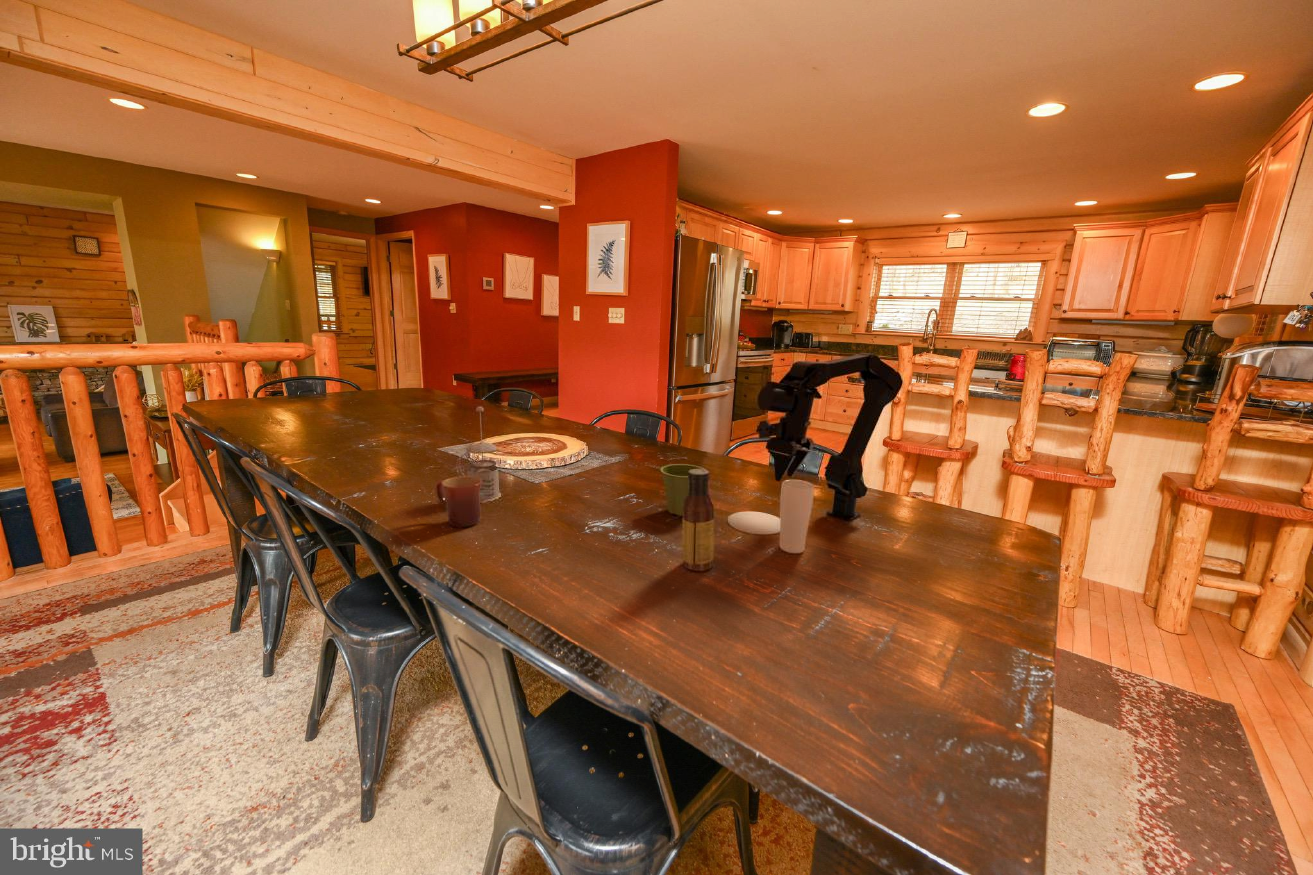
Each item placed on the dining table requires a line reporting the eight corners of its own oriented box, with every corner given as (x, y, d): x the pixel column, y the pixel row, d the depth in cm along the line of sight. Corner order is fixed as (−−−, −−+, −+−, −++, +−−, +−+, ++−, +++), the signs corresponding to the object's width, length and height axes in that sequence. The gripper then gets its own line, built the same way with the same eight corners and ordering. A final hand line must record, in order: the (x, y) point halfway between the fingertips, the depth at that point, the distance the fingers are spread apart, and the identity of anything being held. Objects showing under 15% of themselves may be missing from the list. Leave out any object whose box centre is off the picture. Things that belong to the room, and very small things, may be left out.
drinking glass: (804, 543, 113) (811, 480, 109) (810, 557, 106) (817, 490, 103) (773, 541, 113) (779, 478, 110) (778, 554, 107) (784, 488, 103)
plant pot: (714, 514, 128) (716, 472, 126) (677, 523, 122) (678, 479, 119) (686, 500, 138) (687, 461, 135) (650, 508, 131) (651, 467, 129)
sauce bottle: (715, 561, 103) (721, 469, 98) (708, 575, 97) (714, 477, 92) (685, 556, 105) (689, 465, 100) (676, 569, 99) (680, 473, 94)
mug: (491, 519, 120) (490, 479, 118) (465, 533, 112) (463, 489, 110) (453, 511, 125) (450, 472, 122) (425, 523, 117) (422, 482, 115)
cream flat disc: (750, 508, 133) (750, 507, 133) (796, 524, 123) (796, 523, 123) (716, 521, 124) (716, 519, 124) (762, 539, 114) (762, 538, 114)
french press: (496, 504, 130) (492, 410, 125) (452, 503, 130) (446, 408, 125) (507, 492, 140) (504, 404, 134) (466, 490, 140) (461, 402, 134)
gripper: (777, 408, 129) (765, 466, 132) (751, 408, 114) (738, 474, 116) (820, 417, 124) (806, 477, 126) (799, 418, 108) (784, 487, 110)
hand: (783, 478), depth 120 cm, fingers open, 9 cm apart
